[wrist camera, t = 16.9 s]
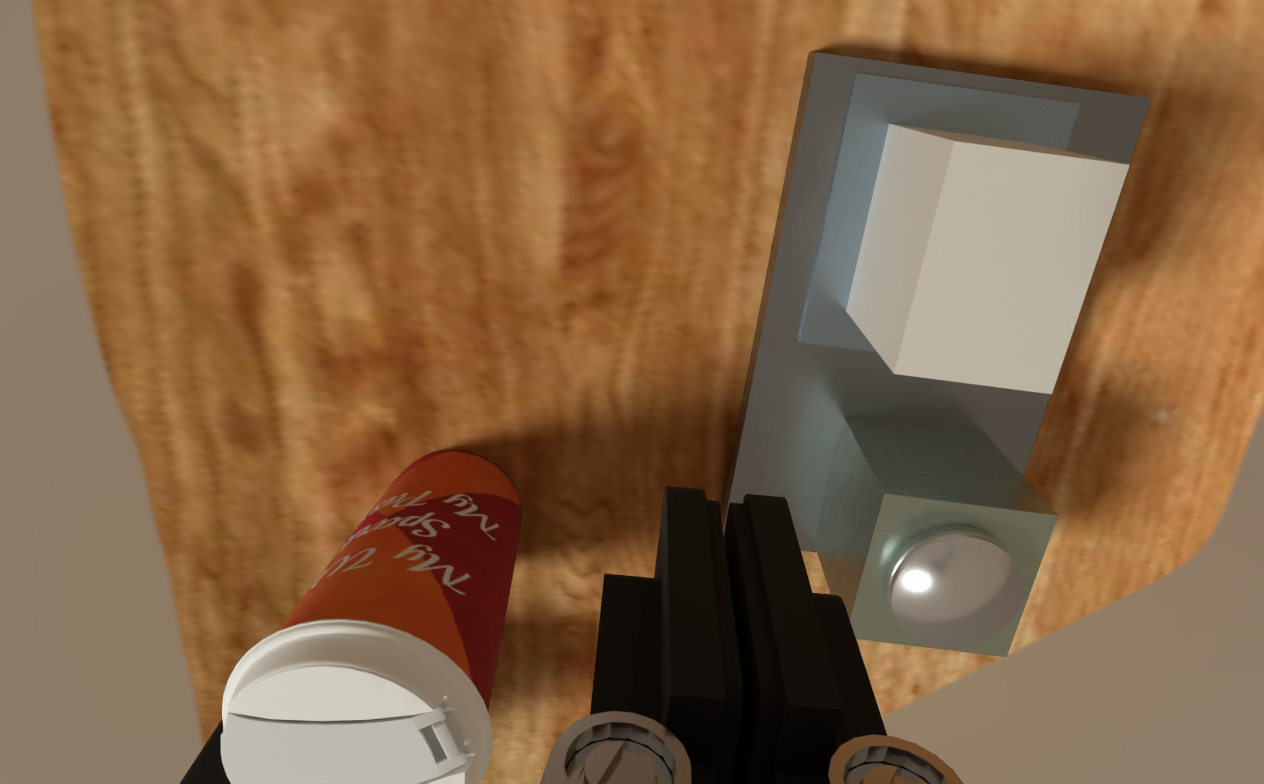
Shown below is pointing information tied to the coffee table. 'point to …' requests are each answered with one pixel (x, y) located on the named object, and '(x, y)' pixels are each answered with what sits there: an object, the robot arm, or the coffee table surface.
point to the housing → (979, 255)
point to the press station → (854, 371)
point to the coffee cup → (387, 643)
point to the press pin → (953, 586)
